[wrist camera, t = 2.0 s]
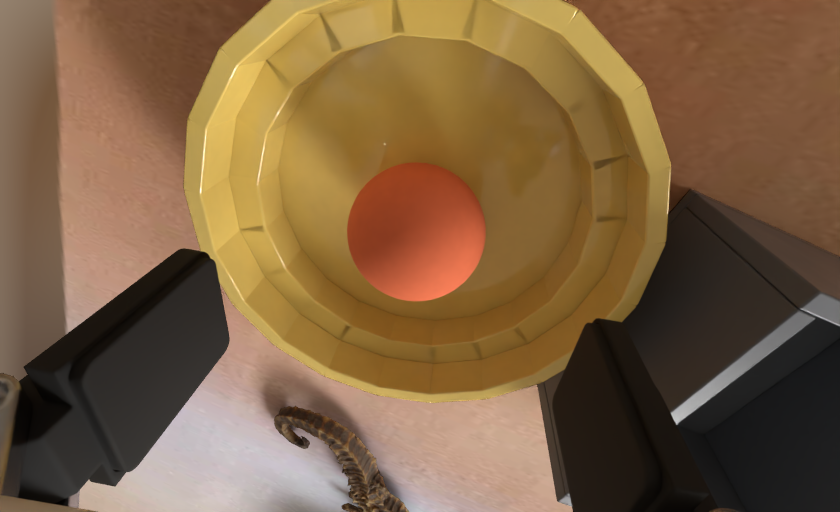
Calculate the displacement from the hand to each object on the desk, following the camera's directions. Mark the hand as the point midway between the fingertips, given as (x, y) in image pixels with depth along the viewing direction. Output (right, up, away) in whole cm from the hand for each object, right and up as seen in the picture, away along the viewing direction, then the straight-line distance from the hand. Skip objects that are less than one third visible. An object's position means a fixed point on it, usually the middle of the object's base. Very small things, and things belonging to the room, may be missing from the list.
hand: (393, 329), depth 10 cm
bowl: (+1, +4, +6) cm, 8 cm away
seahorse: (-4, -13, +18) cm, 22 cm away
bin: (+13, -2, +8) cm, 16 cm away
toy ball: (+1, +4, +6) cm, 7 cm away
